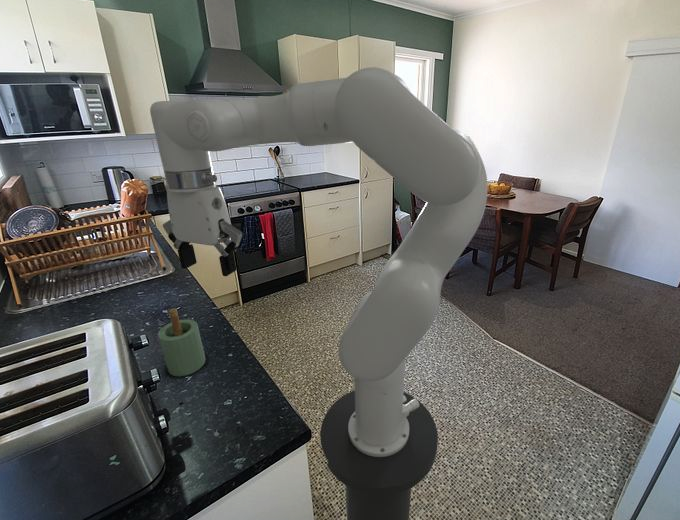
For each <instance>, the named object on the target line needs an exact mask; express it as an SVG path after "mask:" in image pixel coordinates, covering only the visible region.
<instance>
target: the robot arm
mask: <svg viewBox="0 0 680 520" xmlns="http://www.w3.org/2000/svg"><path fill="white" fill-rule="evenodd" d="M149 113H150V118H151V122H152V126H153V131H154V134H155V139H156V143H157V149H158V152H159V157H160V160H161V165H162V169H163V173H164V178H165V182H166V186H167V188H166V198H167V200H166V201H167V209H168V215H169V220H167V221H166V222H164V223H163V224H162V227H163V229H164V232H166V234H167V237H168V239H169V240H170V242H172V244H173V247H174V249H175V250H177V255H178V259H179V264H180V266H181V269H183V270H186V269H188V268H190V267H192V266H194V265H196V264H197V262H198V261H197V257H196V253H195V248H194V245H193V244H197V245H204V246H212V247H213V246H214V248H215V249H216V250H217V251H218V252H219V254H220V256H219V257H218V260H219V264H220V269H221V275H222V276H223V277H228V276H230V275H232V274H233V273H235V272H236V271H237V269H238V268H237V263H236V256H235V252H236V251H237V250H238V248H239V247H240V246H241V241H242V238H243V232H242V231H241V230H239V228H238V229H237V228H236V227H235V226H233V225H232V222H231V217H230V213H229V210H228V207H227V203H226V200H225V197H224V194H223V192H222V190H221V187H220V186H218V185H216V183H217V181H218V175H216V174H215V173H214V170H213V169H214V168H213V164H212V159H211V153H214V152H222V151H228V150H232V149H238V148H242V147H243V148H245V147H249V146H258V145H267V144H280V143H297V144H299V145H300V146H301V147H302V146H303V147H316V146H326V145H339V144H340V145H341V144H351V143H352V144H353V145H355V146H356V147H357V148H358V149H360V151H362V153H364V154H365V155H366V156H367V157H368V158H369V159H371V160H372V161H373V162H374V163H375V164H376V165H377V166H379V167H380V168H382V170H384V171H385V172H386V173H387V174H388V175H390V176H391V177H392V178H394V179H395V180H396V181H397V182H398V183H399V184H400V185H402V186H403V187H404V188H405V189H406V190H408V191H409V192H410V193H412V194H413V195H414V196H415V197H416V198H418V199H420V200H421V201H423V202H425V204H424V206H423V208H422V209H421V211H420V213H419V214H418V215H417V217H416V219H415V220H414V223H413V225H412V227H411V228H410V229H409V231H408V233H407V234H406V236H405V237H404V238H403V240H402V242H401V243H400V244H399V246H398V247H397V249H396V250H395V251H394V252H393V254H392V255H391V256H390V258H388V260H387V261H386V262H385V265H383V267H382V269H381V272H380V274H379V276H378V278H377V281H376V283H375V284H374V286H373V288H372V290H371V291H369V292H367V293H366V294H365V295H363V296H362V298H361V299H360V300H359V301H358V303H357V305H356V307H355V308H354V310H353V312H352V314H351V316H350V318H349V320H348V323H347V325H346V327H345V329H344V330H343V332H342V335H341V337H340V339H339V344H338V358H339V360H340V363H341V365H342V368H343V369H344V371H345V372H346V373H347V374H348V375H350V376H351V377H352V378H353V379H354V390H355V412H354V413H353V414H352V416H351V417H350V420H349V424H348V433H349V437H350V440H351V442H352V443H353V445H354V446H355V447H356V448H357V449H358V450H359V451H361V452H362V453H364V454H367V455H369V456H374V457H386V456H390V455H393V454H395V453H397V452H399V451H400V450H401V449H402V448H403V447H404V446H405V444H406V443H407V440H408V437H409V423H408V420H407V418H406V417H407V416H408V415H409V413H410V412H411V411H414V410H415V409H417V408H419V402H420V401H419V400H418V399H417V398H416V399H417V400H418V401H419V402H418V401H417V400H416V399H413V400H411V401H410V402H408V403H407V404H406V405H404V404H403V403H404V402H406V401H407V399H406V397H405V396H404V395H403V392H405V391H404V388H405V374H406V373H405V372H406V358H407V357H408V356H409V355H410V354H411V352H412V351H413V350H414V349H415V348H416V346H417V345H418V344H419V343H420V341H422V340H423V338H424V336H425V335H426V334H427V333H428V331H429V330H430V329H431V327H432V326H433V324H434V322H435V320H436V318H437V315H438V312H439V309H440V305H441V297H442V295H441V293H442V287H443V283H444V280H445V279H446V276H447V275H448V273H449V272H450V270H451V269H452V268H453V266H454V265H455V264H456V263H457V261H458V260H459V258H460V257H461V255H462V254H463V252H464V251H465V249H466V248H467V246H469V244H470V242H471V241H472V239H473V238H474V236H475V234H476V232H477V231H478V230H479V227H480V224H481V223H482V220H483V217H484V214H485V210H486V207H487V206H486V205H487V201H488V176H487V171H486V167H485V165H484V161H483V159H482V156H481V154H480V152H479V149H478V148H477V146H476V145H475V143H474V141H473V140H472V138H471V137H470V136H469V135H468V134H466V133H465V132H463V131H461V130H459V129H455V128H453V127H451V126H450V125H449V124H448V123H446V121H444V120H443V119H442V118H441V117H439V115H438V114H436V113H435V112H433V110H431V109H430V108H429V107H428V106H427V105H426V104H424V102H422V101H421V100H420V99H419V98H418V97H416V95H414V94H413V93H412V92H411V90H410V87H409V86H408V85H407V83H406V82H405V80H403V79H402V78H401V77H400V76H398V75H397V74H394V73H393V72H391V71H390V70H388V69H384V68H381V67H374V66H373V67H364V68H360V69H358V70H356V71H354V72H352V73H351V74H350V75H348V76H347V77H340V78H334V79H326V80H316V81H308V82H301V83H296V84H294V85H292V86H291V88H290V90H289V91H288V92H285V93H282V94H281V93H280V94H277V95H270V96H263V97H253V98H241V99H240V98H239V99H237V98H213V97H211V98H210V97H209V98H208V97H207V98H197V99H191V100H159V101H155V102H153V103H151V106H150V108H149ZM210 152H211V153H210ZM223 244H224V245H223Z"/></svg>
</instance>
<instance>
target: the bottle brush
mask: <svg viewBox="0 0 680 520" xmlns="http://www.w3.org/2000/svg"><path fill="white" fill-rule="evenodd" d="M168 315H169V320H170V323H172V327H173V331H174V334H175V336H180V335H183V332H182V328H181V325H180V321H179V320H180V318H179V313H178V310H177V308H170V309H168Z"/></svg>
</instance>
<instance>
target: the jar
mask: <svg viewBox="0 0 680 520" xmlns="http://www.w3.org/2000/svg"><path fill="white" fill-rule="evenodd" d="M179 321H180V325H181V328H182V332H183V335H180V336H175V334H174V331H173V327H172V323H171V322H169V323H168V324H165V325H164V326H162V327H161V328H160V329H159V331H158V333H157V338H158V341H159V345H160V348H161V352H162V355H163V359H164V362H165V365H166V369H167V372H168V374H170V375H171V376H172V377H184V376H185V377H186V376H188V375H189V376H190V375H192V374H194V373H195V372H197V371H199V370H200V369H201V368H202V367H203V366H204V365H205V363H206V355H205V349H204V346H203V343H202V338H201V333H200V329H199V326H198V323H197V321H195V320H193V319H189V318H188V319H179Z"/></svg>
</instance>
